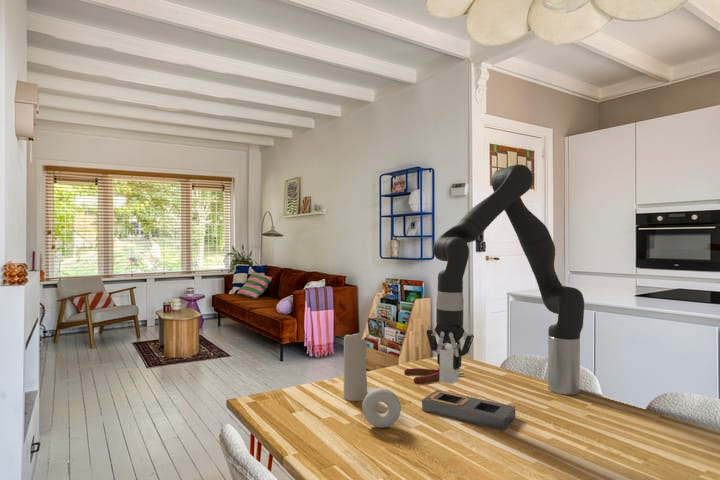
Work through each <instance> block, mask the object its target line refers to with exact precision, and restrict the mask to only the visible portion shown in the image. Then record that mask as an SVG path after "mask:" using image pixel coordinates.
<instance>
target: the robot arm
mask: <svg viewBox="0 0 720 480" xmlns="http://www.w3.org/2000/svg"><path fill="white" fill-rule="evenodd" d="M533 176H534V175H533V173H532V170H531V169H530V168H529V167H528V166H526V165H524V164H512V165H510V166H507V167H503V168H500V169H497V170H496V171H494V172H493V174H492V175H491V188H492V190H493V193H491V194H490V195H489V196H487V197H486V198H483V200H482V201H480V202H479V203H477V204H476V205H475V206H473V207H472V208H471V209H470V210H468V212H466V214H465V215H463V217H462V218H461V219H460V220H459V222H458V223H456V224H455V225H454V226H452V227H450V228H449V229H447V230H446V231H445V232H444V233H442V234H441V235H440V236H439V237H438V238H437V239H436V240H435V242H434V244H433V247H432V252H433V256H434V257H435V258H436V259H437V260H438V261H442V262H446V267H445V269H443V270H440V271H439V272H438V273H437V274H438V275H437V294H436V304H435V306H436V309H435V310H436V311H435V314H436V319H435V321H436V322H435V323H436V324H435V325H436V326H435V328H429V329H427V330H426V331H425V332H426V336H427V339H428V343H429V347H430V350H431V351H434V352H436V354H437V356H436V357H437V362H436V363H437V365H438V368H440V349H442V348H444V347H446V345H447V344H450V345H451V348H453V349H454V354H455V357H454V369H455V370H458V371H459V369H460V368H461V367H462V357H464V356H466V355H467V354H469V352H470V348H471V346H472V343H473V341H474V338H475V335H474V334H469V333H467V332H465V329H464V305H465V304H464V286H463V285H464V275H465V272H466V269H467V265H468V260H469V256H470V248H469V245H468V243H472V242H474V241H477V239H478V238H479V237H480V236H481V235H482V234H483V233H484V232H485V231H486V229H487V228H488V227H489V226H490V224H492V222H494V220H495V219H496V218H497V217H499V216H500V215H501V214H502V213H503V212H505V214H506V215H507V218H508V219H509V222H510V224H511V226H512V228H513V231H514V232H515V234H516V237H517V239H518V243H519V244H520V247H521V249H522V251H523V253H524V255H525V257H526V259H527V262H528V265H529V266H530V268H531V270H532V273H533V275H534V278H535V281H536V284H537V287H538V289H539V292H540V295H541V296H540V297H541V300H542V301H543V305H544V306H545V308H546V309H547V310H548V311H549V312H551V313H553V314H556V315H557V322H556V323H555V324H552V325H549V327H548V329H547V330H548V331H547V332H548V335H547V336H548V337H547V338H548V342H547V343H548V345H547V346H548V347H547V350H548V351H547V357H548V358H547V360H548V361H547V364H548V365H547V390H549V391H551V392H552V393H556V394H559V395H565V396H566V395H567V396H573V395H578V394H580V382H581V380H580V379H581V377H580V375H581V374H580V373H581V369H580V368H581V367H580V365H581V333H582V330H583V327H584V317H585V315H584V314H585V299H584V295H583V293H582V291H581V290H579V289H578V288H576V287H572V286H566V285H562V283H561V281H560V279H559V278H558V275H557V273H556V269H555V259H556V247H555V246H556V245H555V243H554V240H553V238H552V235H551V234H550V231H549V229H548V227H547V226H546V225H545V223H543V222H542V221H541V219H540V218H538V217H537V216H536V215H535V214H534V213H532V212H531V210H529V209H528V207H527V206H526V205H525V203H524V202H523V200H522V198H521V197H522V196H523V195H525V194H526V193H528V191H529V190H531V187H532V186H533V182H534V177H533ZM436 335H437V336H438V342H437V337H436ZM462 338H463V341H464V343H463V346H462V344H461V339H462Z"/></svg>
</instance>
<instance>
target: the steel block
mask: <svg viewBox="0 0 720 480" xmlns="http://www.w3.org/2000/svg"><path fill="white" fill-rule="evenodd" d="M454 357H455V354H454V349H453V348H452V346H451V347H449V346H445V347H444V348H442V349H440V367H439V368H440V374H439V379H438V380H439V382H441V383H445V384H451V385H453V384H455V383H457V382H458V381H459V375H458V371H459V369H458V370H455V369H454Z"/></svg>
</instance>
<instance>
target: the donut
mask: <svg viewBox="0 0 720 480" xmlns="http://www.w3.org/2000/svg"><path fill="white" fill-rule="evenodd" d="M379 403H383V404H385V405H386V406H387V411H386V412H384V413H380V412H378V411H377V409H376V405H377V404H379ZM401 405H402V404H401V401H400V399H399V397H398V395H396V394H395V392H394V391H392V390H390V389H388V388H384V387H379V388H377V389H374V390H372V391H370V392H369V393H368V394H367V395H366V397H365V399H364V400H362V406H361V409H362V410H361V411H362V414H363V416H364V419H365V420H366V421H367V422H368V423H369V424H370V425H372V426H374V427H375V428H380V429H383V428H389V427H391V426H393V425H394V424H395V423H396V422H397V421H398V420H399V418H400V416H401V411H402V406H401Z"/></svg>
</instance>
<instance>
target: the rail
mask: <svg viewBox="0 0 720 480" xmlns="http://www.w3.org/2000/svg"><path fill="white" fill-rule="evenodd" d="M421 411H422V412H427V413H431V414H436V415H439V416H444V417H447V418H451V419H456V420H458V421H463V422H465V423H466V422H467V423H471V424H475V425H479V426H482V427H487V428H491V429H495V430H497V431H498V430H499V431H502V432H504V431H506V429H507V428H508V427H509V426H510V425H511V423H512V422H513V421H514V420H515V419H516V406H515V405H510V404H504V403H500V402H495V401H490V400H487V399H481V398H476V397H472V396H467V395H463V394H459V393H454V392H449V391H446V390H440V389H436V390H435V391H433V392H431V393H430V394H429V395H427V396H426V397H424V398H422V400H421Z"/></svg>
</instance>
